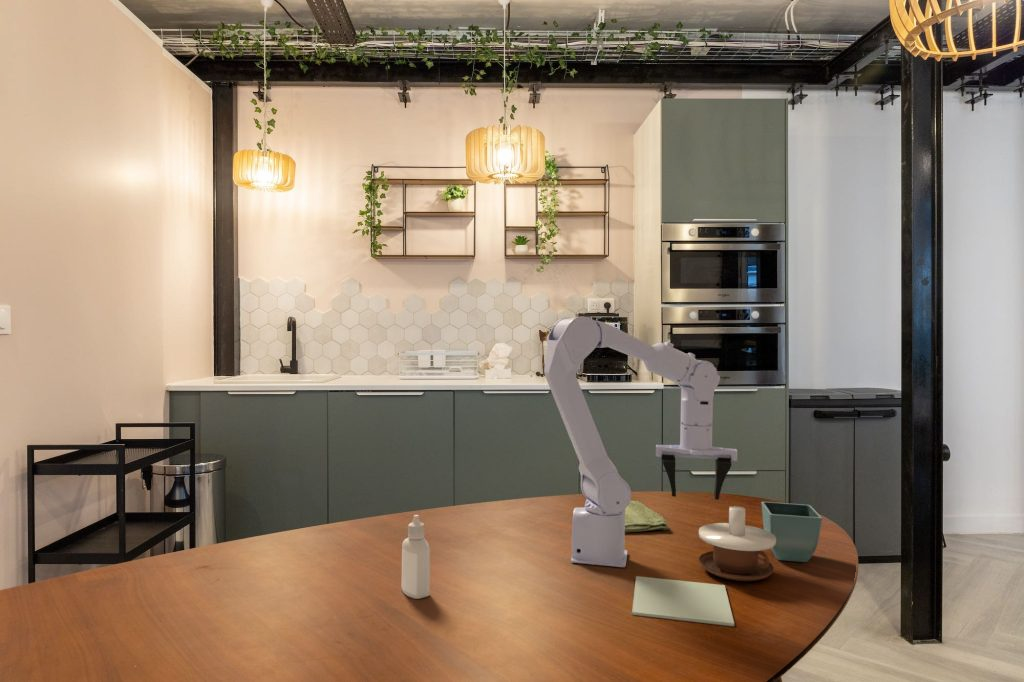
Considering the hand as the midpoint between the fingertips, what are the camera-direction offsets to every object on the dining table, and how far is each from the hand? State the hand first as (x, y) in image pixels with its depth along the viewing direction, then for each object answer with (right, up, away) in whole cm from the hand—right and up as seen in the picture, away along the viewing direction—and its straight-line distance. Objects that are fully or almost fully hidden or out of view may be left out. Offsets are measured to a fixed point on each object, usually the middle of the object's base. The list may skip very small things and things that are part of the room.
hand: (695, 496), depth 118 cm
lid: (+4, -5, -10) cm, 12 cm away
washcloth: (-9, -11, +20) cm, 24 cm away
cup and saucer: (+4, -11, -10) cm, 15 cm away
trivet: (-8, -11, -22) cm, 25 cm away
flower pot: (+17, -11, -2) cm, 20 cm away
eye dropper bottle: (-49, -10, -20) cm, 54 cm away
